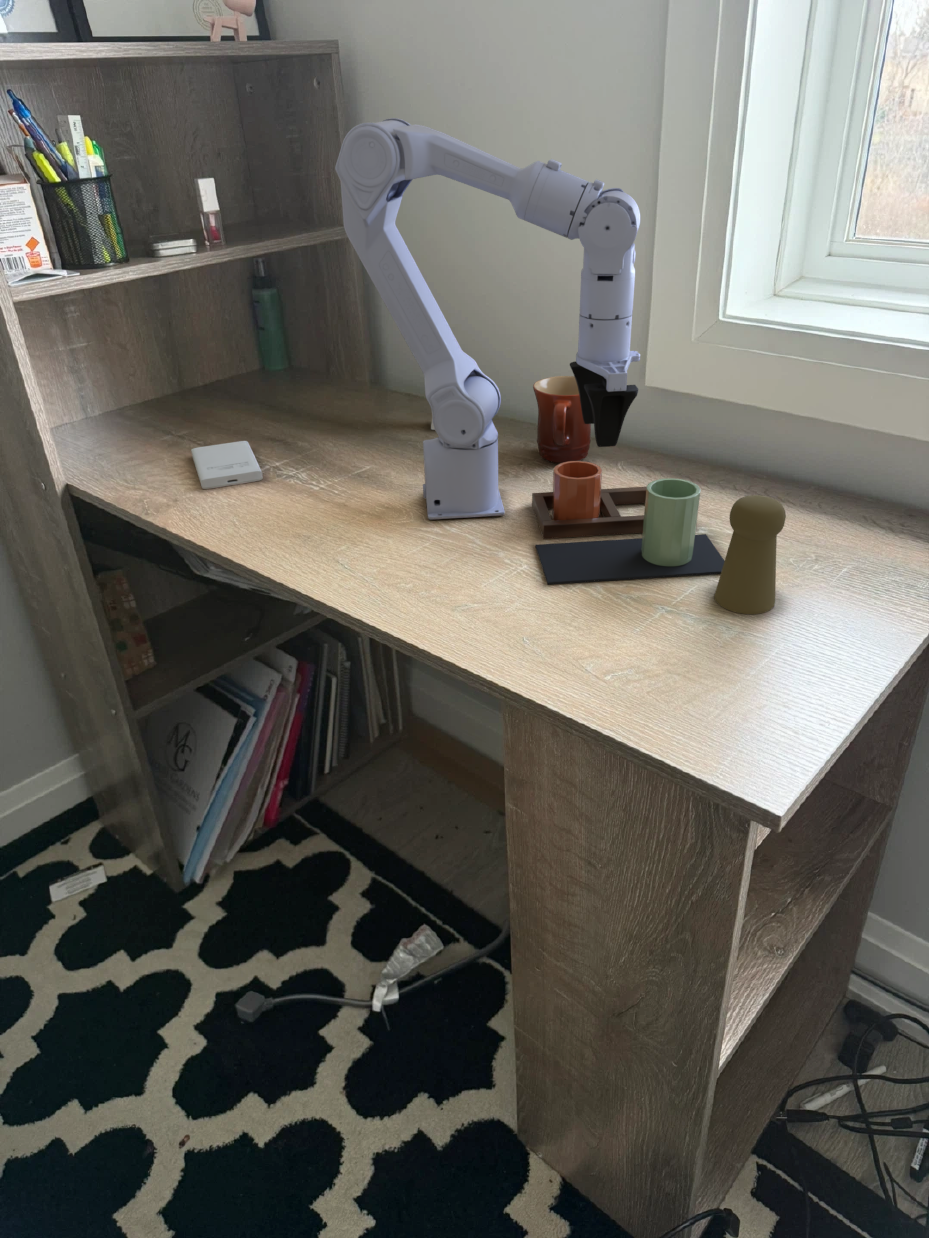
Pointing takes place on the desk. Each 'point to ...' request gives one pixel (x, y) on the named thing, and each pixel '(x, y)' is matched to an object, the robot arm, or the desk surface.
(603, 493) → the holder
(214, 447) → the hard drive
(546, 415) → the mug
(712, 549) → the desk mat
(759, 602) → the olive pepper mill
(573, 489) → the terracotta cup
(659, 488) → the cup
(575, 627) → the desk surface
